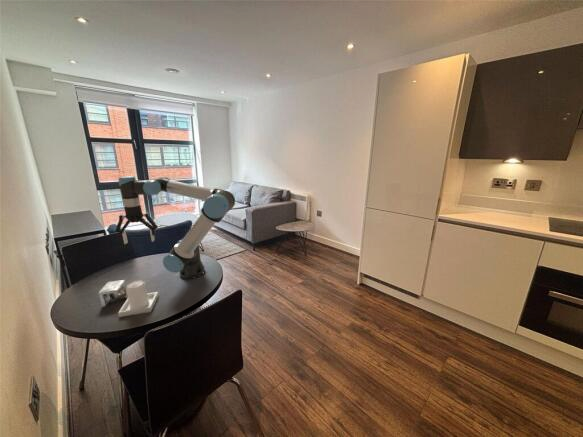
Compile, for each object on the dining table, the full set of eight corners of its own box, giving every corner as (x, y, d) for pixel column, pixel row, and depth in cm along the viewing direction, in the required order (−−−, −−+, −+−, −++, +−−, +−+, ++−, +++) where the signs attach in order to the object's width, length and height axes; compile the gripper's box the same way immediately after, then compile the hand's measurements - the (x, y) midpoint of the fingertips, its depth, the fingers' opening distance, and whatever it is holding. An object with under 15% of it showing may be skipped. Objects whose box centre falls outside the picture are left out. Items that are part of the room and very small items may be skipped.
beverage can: (152, 299, 122) (148, 279, 119) (143, 309, 115) (138, 288, 111) (136, 300, 122) (132, 280, 119) (126, 310, 114) (121, 289, 111)
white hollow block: (131, 292, 130) (127, 279, 127) (123, 303, 120) (120, 289, 118) (111, 295, 127) (107, 282, 125) (102, 306, 118) (98, 292, 116)
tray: (158, 296, 126) (157, 291, 126) (151, 312, 114) (150, 307, 113) (130, 300, 123) (129, 296, 122) (119, 317, 111) (118, 312, 110)
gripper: (159, 202, 132) (165, 237, 138) (108, 205, 126) (117, 241, 132) (155, 205, 125) (162, 242, 131) (102, 208, 119) (111, 246, 125)
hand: (139, 242), depth 131 cm, fingers open, 13 cm apart
